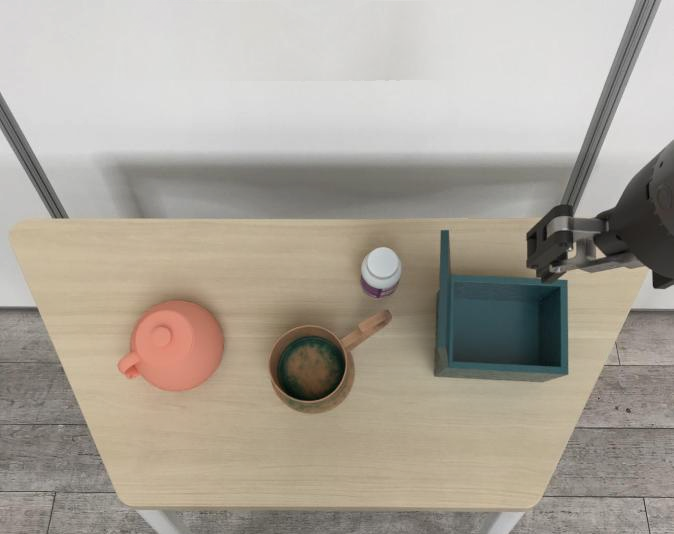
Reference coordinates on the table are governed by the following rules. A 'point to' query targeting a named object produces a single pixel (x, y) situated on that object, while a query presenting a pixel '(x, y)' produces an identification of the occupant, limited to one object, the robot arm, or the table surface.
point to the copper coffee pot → (317, 364)
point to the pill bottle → (380, 273)
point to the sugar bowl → (174, 346)
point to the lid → (444, 299)
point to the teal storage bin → (506, 329)
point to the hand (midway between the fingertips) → (600, 273)
